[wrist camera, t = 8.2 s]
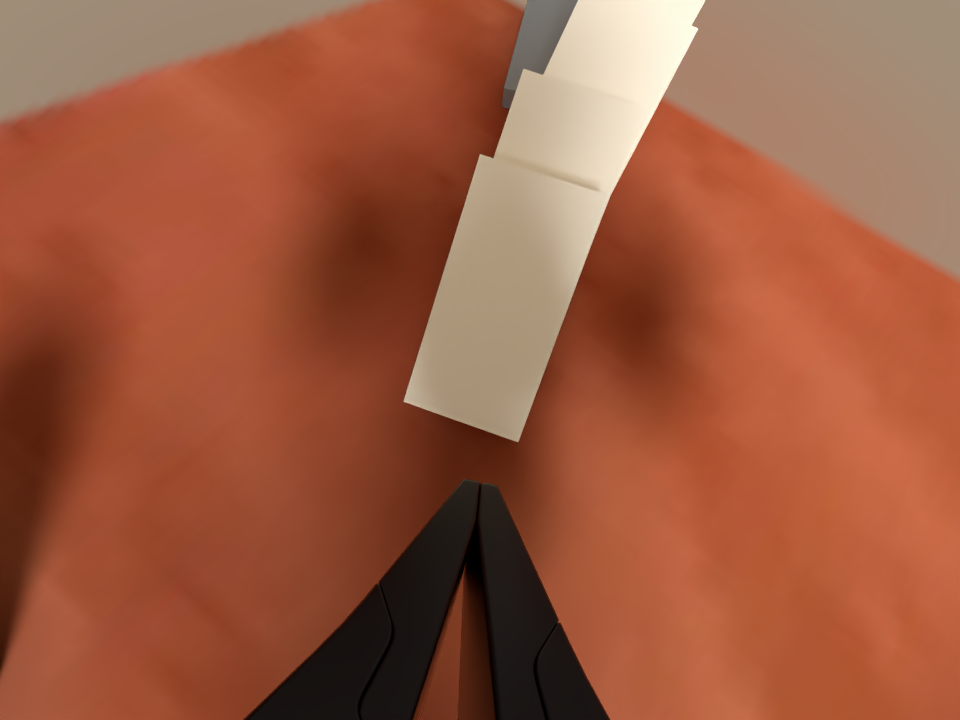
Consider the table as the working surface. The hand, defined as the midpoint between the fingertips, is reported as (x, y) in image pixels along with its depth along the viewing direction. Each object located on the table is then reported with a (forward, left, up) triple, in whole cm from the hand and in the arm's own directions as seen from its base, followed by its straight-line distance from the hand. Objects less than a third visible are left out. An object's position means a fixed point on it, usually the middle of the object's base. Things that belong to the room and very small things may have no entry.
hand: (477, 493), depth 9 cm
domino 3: (+9, -7, -7) cm, 13 cm away
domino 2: (+5, -3, -7) cm, 9 cm away
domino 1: (+2, 0, -7) cm, 7 cm away
